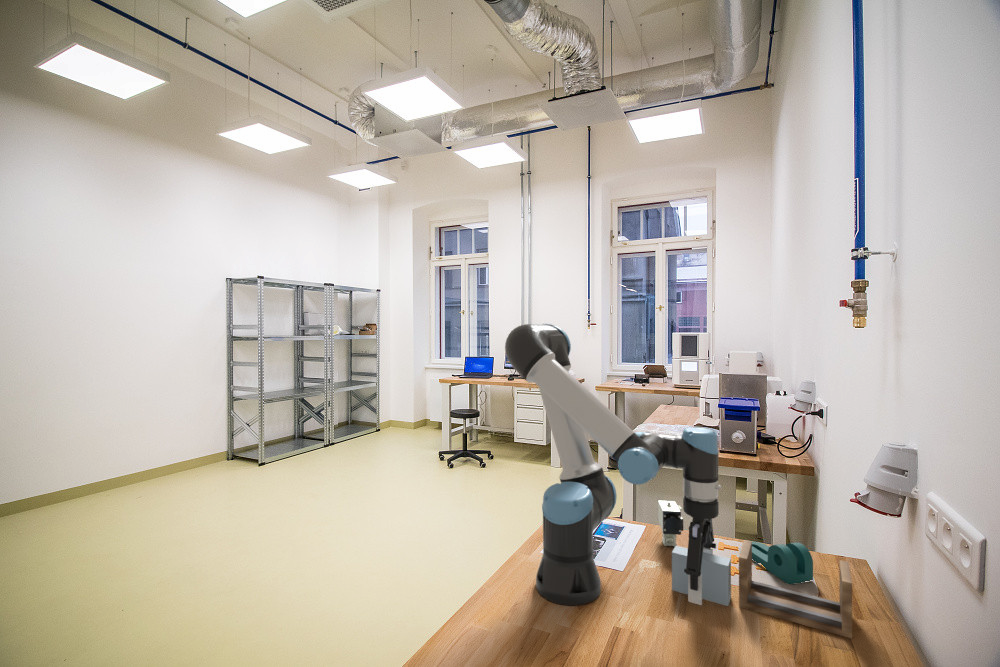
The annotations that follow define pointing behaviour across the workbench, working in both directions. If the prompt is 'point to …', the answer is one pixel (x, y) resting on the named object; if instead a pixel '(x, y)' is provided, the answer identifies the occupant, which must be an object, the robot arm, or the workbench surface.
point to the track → (797, 599)
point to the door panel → (704, 575)
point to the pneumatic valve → (669, 521)
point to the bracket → (785, 561)
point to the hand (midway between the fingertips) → (701, 588)
